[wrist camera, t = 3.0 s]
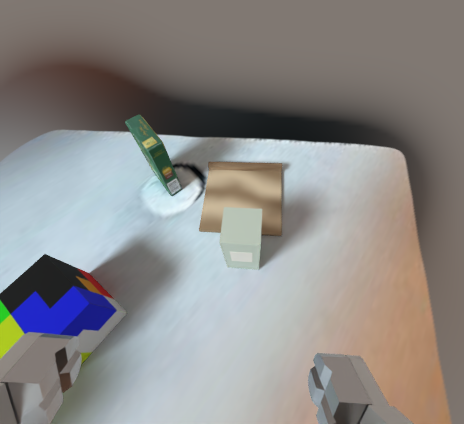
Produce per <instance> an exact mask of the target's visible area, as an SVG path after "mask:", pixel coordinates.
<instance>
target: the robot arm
mask: <svg viewBox="0 0 464 424" xmlns="http://www.w3.org/2000/svg"><path fill="white" fill-rule="evenodd" d="M79 344H80V343H79V339H78V337H77V336H68V335H58V334H48V333H36V332H28V333H26V334H24V335H23V336H21V338H20V339H19V340H18V341H17V342H16V343H15V344H14V345H13V346H12V347H11V348H10V349H9V350H8V351H7V352H6V354H5V355H4V356H3V357H2V358H1V359H0V424H50V423H51V422H52V420H53V418H54V416H55V415H56V413H57V411H58V410H59V408H60V406H61V404H62V403H63V393H64V392H65V391H66V390H68V389H69V388H70V387H71V386H72V385H73V383H74V382H75V380H76V378H77V376H78V373H79V370H80V367H81V361H82V358H81V353H80V352H79V351H78V350H77V347H78V346H79ZM313 361H314V364H315V366H314V367H313V368H312V369H310V373H309V376H308V386H309V392H310V396H311V399H312V401H313V402H314V404H315V405H316V406H317V407H318V408H319V409H318V412H317V415H316V416H317V420H318V423H319V424H413V423H412V422H411V421H410V420H409V419H408V418H407V417H405V416H404V415H403V414H402V413H401V412H400V411H399V410H398V409H396V408H395V407H393V406H389V404H388V402H387V400H386V399H385V397H384V395H383V393H382V392H381V390H380V388H379V386H378V385H377V383H376V381H375V379H374V377H373V376H372V374H371V372H370V370H369V369H368V367H367V365H366V363H365V362H364V360H363V359H362V358H361V357H360V356H352V355H342V354H325V353H317V354H316V355H315V357H314V360H313Z"/></svg>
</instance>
